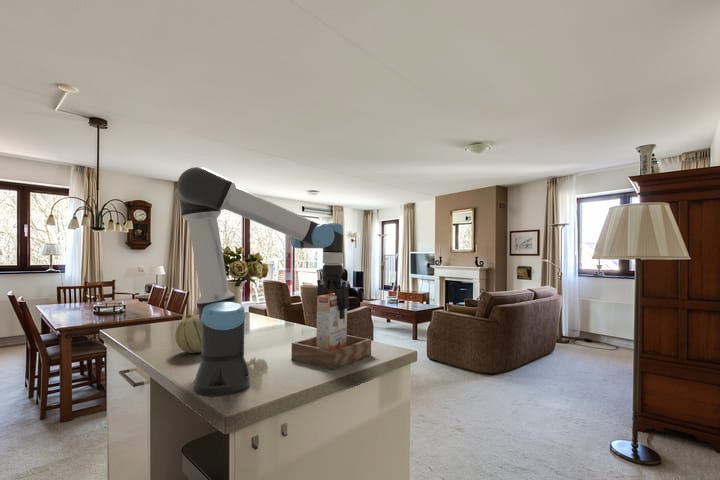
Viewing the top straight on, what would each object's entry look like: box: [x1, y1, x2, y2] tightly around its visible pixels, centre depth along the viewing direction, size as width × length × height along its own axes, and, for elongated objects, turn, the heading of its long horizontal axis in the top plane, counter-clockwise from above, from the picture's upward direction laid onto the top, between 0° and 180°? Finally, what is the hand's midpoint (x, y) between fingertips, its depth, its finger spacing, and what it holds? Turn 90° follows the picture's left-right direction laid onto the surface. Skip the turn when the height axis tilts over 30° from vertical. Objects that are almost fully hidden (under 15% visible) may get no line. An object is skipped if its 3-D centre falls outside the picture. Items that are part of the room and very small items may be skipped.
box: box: [291, 334, 372, 371], centre depth 133 cm, size 22×20×6 cm
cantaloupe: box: [174, 313, 202, 354], centre depth 139 cm, size 15×15×15 cm
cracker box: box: [315, 292, 348, 351], centre depth 133 cm, size 14×6×21 cm, turn 156°
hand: (332, 326), depth 133 cm, fingers closed on cracker box, 6 cm apart
